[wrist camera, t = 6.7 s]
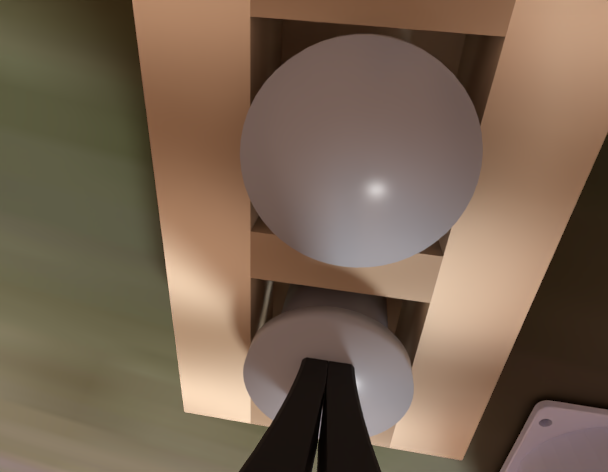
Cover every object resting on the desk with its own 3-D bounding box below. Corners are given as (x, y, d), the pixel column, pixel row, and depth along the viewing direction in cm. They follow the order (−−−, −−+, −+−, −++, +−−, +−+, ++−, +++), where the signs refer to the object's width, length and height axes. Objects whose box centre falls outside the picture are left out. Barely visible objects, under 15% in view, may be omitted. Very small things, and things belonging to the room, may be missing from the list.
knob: (390, 346, 16) (396, 452, 12) (273, 328, 17) (243, 425, 13) (414, 244, 14) (431, 336, 10) (277, 226, 14) (241, 308, 10)
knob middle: (425, 199, 13) (448, 280, 9) (278, 182, 13) (241, 252, 10) (464, 33, 11) (518, 47, 7) (284, 18, 11) (238, 24, 7)
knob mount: (443, 370, 17) (462, 460, 14) (219, 335, 18) (184, 412, 15) (734, -482, 7) (1096, -969, 3) (177, -464, 8) (26, -832, 4)
